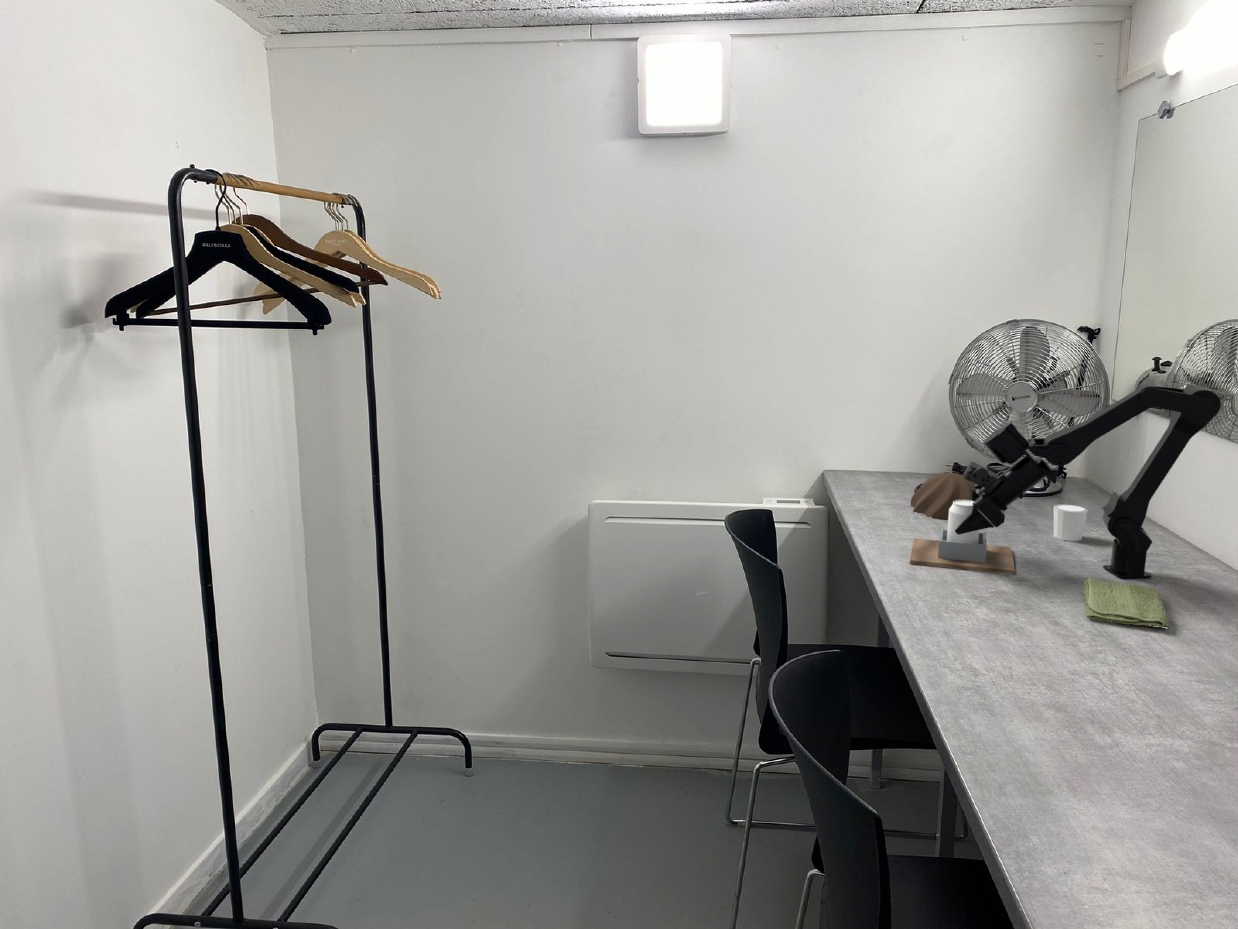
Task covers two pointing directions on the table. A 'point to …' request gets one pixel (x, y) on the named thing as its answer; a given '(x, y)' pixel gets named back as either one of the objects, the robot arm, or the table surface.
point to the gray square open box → (962, 548)
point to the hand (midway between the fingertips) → (956, 526)
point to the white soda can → (956, 517)
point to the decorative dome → (941, 494)
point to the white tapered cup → (1069, 522)
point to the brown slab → (995, 560)
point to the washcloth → (1123, 603)
